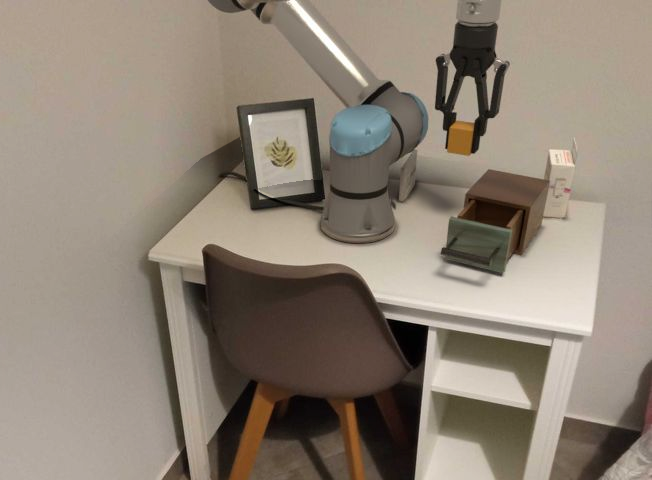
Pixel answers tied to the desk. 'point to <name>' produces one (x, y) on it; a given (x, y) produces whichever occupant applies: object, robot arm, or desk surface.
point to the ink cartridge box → (559, 180)
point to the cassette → (408, 176)
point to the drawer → (484, 235)
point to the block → (460, 138)
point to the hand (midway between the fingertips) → (461, 148)
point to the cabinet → (514, 198)
